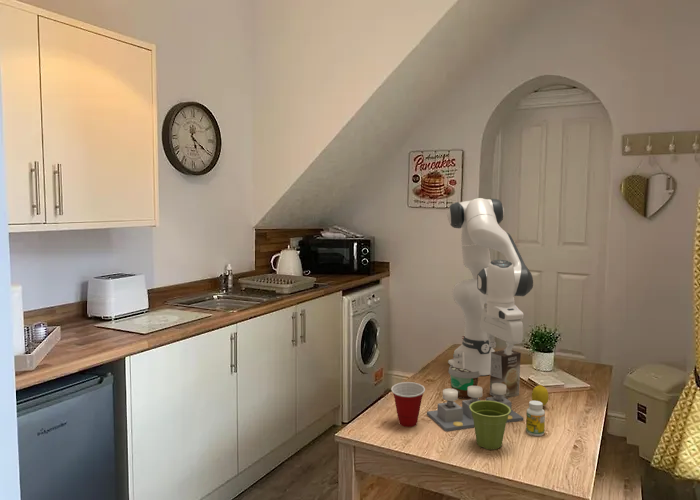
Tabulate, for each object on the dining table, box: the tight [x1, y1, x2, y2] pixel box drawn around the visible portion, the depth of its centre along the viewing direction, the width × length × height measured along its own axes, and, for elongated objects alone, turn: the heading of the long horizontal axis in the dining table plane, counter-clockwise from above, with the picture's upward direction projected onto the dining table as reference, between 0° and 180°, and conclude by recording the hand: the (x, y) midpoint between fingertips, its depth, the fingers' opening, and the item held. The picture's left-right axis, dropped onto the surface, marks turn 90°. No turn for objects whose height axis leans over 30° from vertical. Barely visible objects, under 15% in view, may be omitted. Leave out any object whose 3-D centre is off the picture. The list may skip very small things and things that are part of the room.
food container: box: [448, 364, 481, 400], centre depth 202 cm, size 12×6×10 cm, turn 45°
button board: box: [426, 396, 524, 432], centre depth 183 cm, size 14×28×5 cm, turn 107°
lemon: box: [531, 384, 549, 406], centre depth 191 cm, size 6×6×8 cm
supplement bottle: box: [525, 400, 546, 437], centre depth 171 cm, size 5×5×10 cm
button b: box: [467, 385, 483, 403], centre depth 182 cm, size 5×5×6 cm
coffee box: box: [489, 349, 522, 399], centre depth 202 cm, size 9×6×16 cm
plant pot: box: [469, 399, 512, 450], centre depth 163 cm, size 12×12×11 cm
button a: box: [491, 383, 506, 402], centre depth 185 cm, size 5×5×6 cm
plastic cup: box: [390, 381, 426, 428], centre depth 177 cm, size 11×11×12 cm
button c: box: [442, 387, 459, 408], centre depth 180 cm, size 5×5×6 cm
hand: (500, 350), depth 183 cm, fingers open, 8 cm apart
